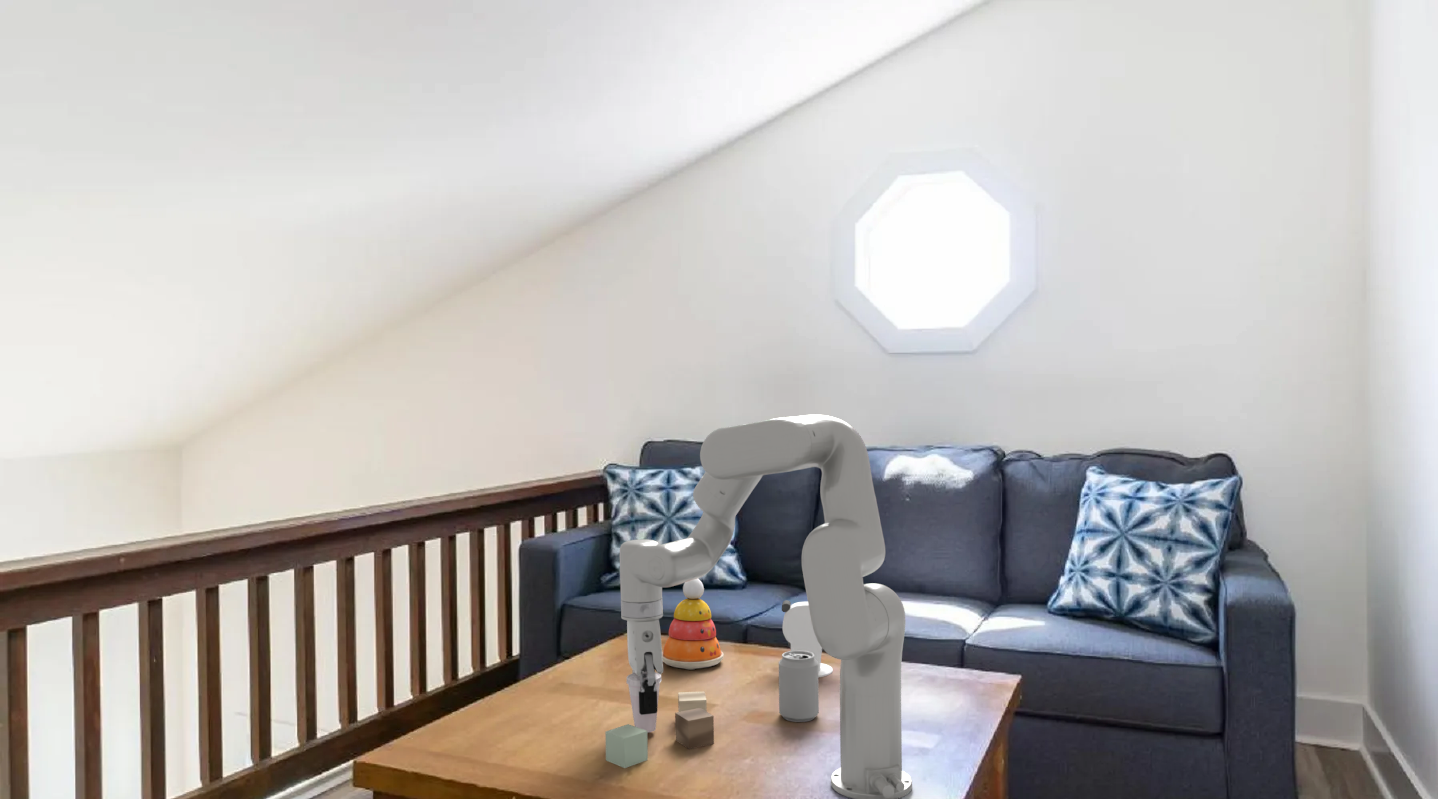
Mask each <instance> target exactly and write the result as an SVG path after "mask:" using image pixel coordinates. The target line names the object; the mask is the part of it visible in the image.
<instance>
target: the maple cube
mask: <svg viewBox="0 0 1438 799" xmlns="http://www.w3.org/2000/svg"><path fill="white" fill-rule="evenodd" d="M677 694H678V695H677V698H678V703H677V704H678V710H677V712H682V711H687V710H692V709H697V708H701V709H703V710H704V711H706V712H708V710H707V708H708V707H707V704H708V703H707V697H706V696H707V695H706V692H705V691H685V692H677Z"/></svg>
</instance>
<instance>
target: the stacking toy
mask: <svg viewBox="0 0 1438 799" xmlns="http://www.w3.org/2000/svg"><path fill="white" fill-rule="evenodd" d="M682 592H683V593H682V594H683V595H684V597H685V599H683V600H681V601H680V602H679V603H678V604H677V605H676V607H675V609H674V612H673V620H672V621H671V623H670V625H669V629H668V638H667V639H666V641H665V643H664V647H663V650H662V659H663V664H666V665H667V666H671V667H673V668H677V669H678V668H679V669H685V670H689V671H690V670H691V671H693V670H695V669H703V668H710V667H712V666H715V665H718V664H719V663H720V662H722V660H723V659H724V657H725V656H724V655H725V654H724V652H723V651H722V650H721V646H720V643H719V640H718V639H717V637H716V636H717V629H716V625H715V623H714V621H713V620H712V611H711V609H710V606H709V605H708V603H706V602H705V601H704V600H703V599H701V597H702V596H703V595H704V592H705V588H704V584H703V582H702V581H701V580H700V578H698V579H695V580H691V581H688V582H684V583H683V586H682Z"/></svg>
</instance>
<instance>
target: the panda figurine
mask: <svg viewBox="0 0 1438 799" xmlns="http://www.w3.org/2000/svg"><path fill="white" fill-rule="evenodd" d="M781 603H782V604H781V611H782V612H783V613H784V615H783V618H782V619H783V620H782V633H783V636H784V638H785V640H786V641H787V645H788V648H789V649H790V651H808V652H811V653H813V654H814V655H815V657H814V658H815V659H816V661H817V662H818V678H822V677H827V676H829V675H831V674H833V672H834V671H833V667H832V666H830V665H829V664H828V663H827V664H826V663H822V653H823V651H824V650H823V648H822V647H821V646H820V644H819V643H818V641H817V639H816V636H815V633H814V630H813V626H812V621H811V616H810V610H809V605H808V601H798V602H795V603H792V602H791V601H790V600H787V599H786V600H783V601H782V602H781Z"/></svg>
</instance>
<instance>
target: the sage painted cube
mask: <svg viewBox="0 0 1438 799" xmlns="http://www.w3.org/2000/svg"><path fill="white" fill-rule="evenodd" d="M604 734H605V736H604V737H605V761H607V762H609V763H610V764H611V763H612V764H614V765H615V766H619V767H620V768H623V769H626V768H628V767H632V766H635V765H637V764H640V763H643V762H646V761H648V758H649V757H648V749H649V748H648V733H647V731H646V730H643V729H640V728H638V727H635V725H632V724H630V723H627V724H625V725H622V726H618V727H615V728H613V729H609V730H606V731H605V733H604Z"/></svg>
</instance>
